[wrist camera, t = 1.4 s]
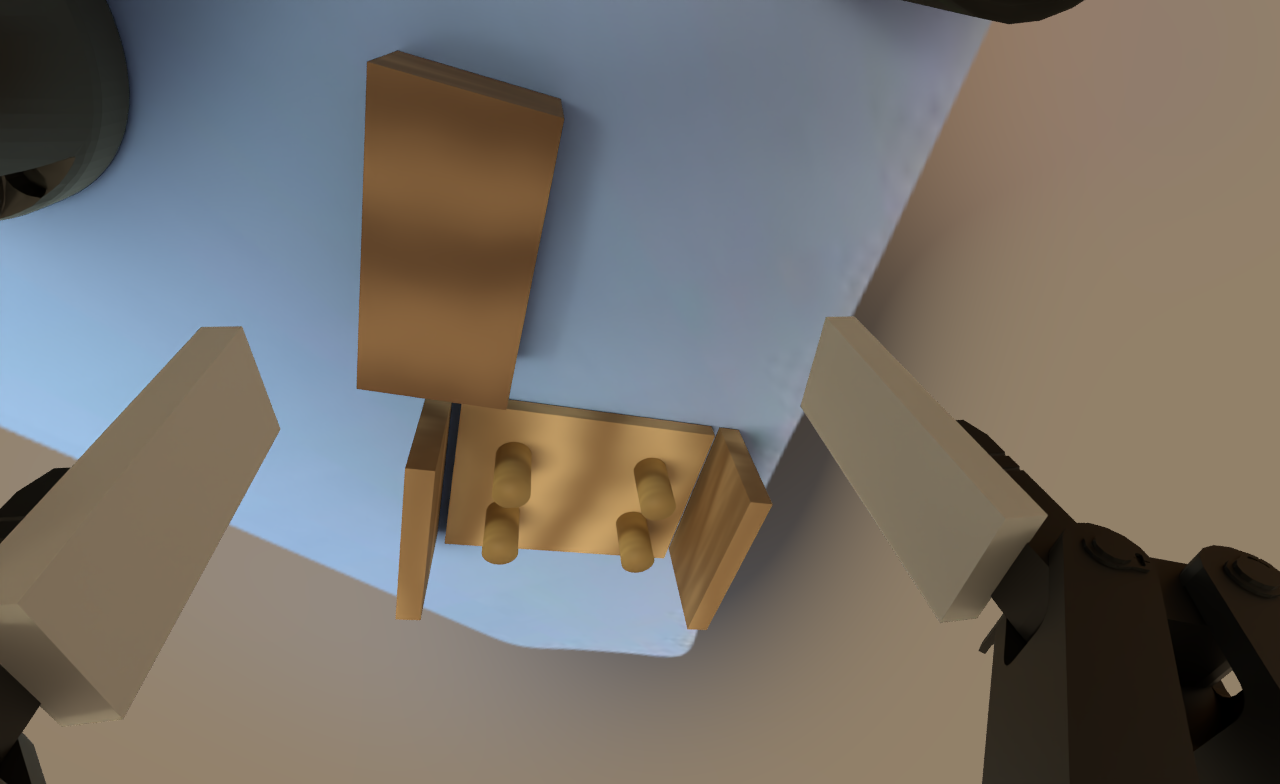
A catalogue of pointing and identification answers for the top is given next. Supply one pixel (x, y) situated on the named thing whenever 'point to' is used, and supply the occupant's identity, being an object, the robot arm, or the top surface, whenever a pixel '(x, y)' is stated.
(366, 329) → the brown wooden block
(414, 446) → the stand
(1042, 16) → the cup
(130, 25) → the top surface
